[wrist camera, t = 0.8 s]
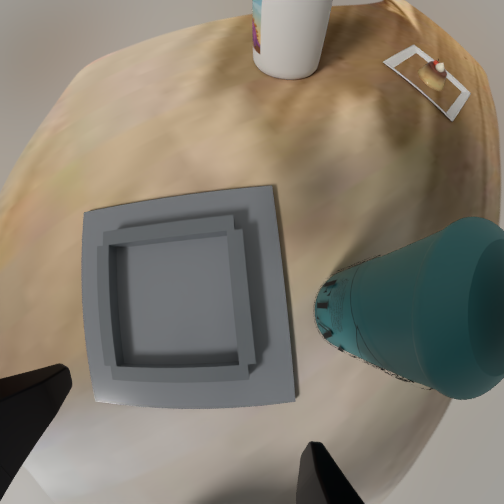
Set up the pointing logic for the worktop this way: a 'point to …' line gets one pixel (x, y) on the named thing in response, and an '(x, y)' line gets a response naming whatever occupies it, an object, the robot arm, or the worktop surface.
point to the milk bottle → (289, 36)
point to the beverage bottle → (426, 310)
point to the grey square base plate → (187, 302)
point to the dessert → (431, 77)
